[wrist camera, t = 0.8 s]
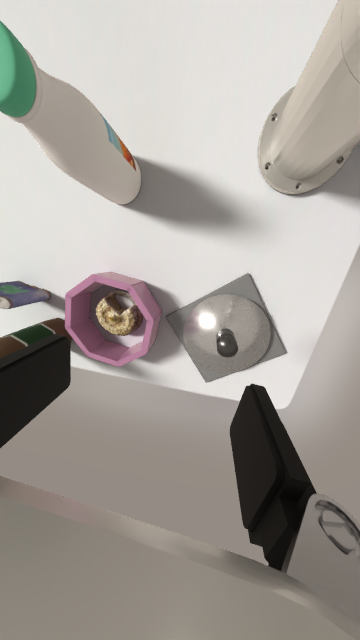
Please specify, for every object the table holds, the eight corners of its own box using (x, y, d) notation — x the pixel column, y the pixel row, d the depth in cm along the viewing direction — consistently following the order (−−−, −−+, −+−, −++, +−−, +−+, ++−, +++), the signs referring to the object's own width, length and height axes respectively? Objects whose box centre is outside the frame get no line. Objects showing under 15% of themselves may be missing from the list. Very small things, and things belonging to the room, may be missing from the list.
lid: (246, 277, 32) (254, 280, 26) (282, 352, 36) (296, 369, 30) (169, 318, 37) (162, 328, 31) (207, 380, 41) (206, 399, 35)
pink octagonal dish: (129, 258, 35) (114, 258, 29) (174, 331, 38) (168, 343, 33) (70, 299, 40) (48, 306, 34) (114, 360, 44) (101, 375, 38)
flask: (51, 291, 40) (-2, 301, 30) (50, 303, 41) (-1, 317, 31) (14, 278, 41) (-50, 285, 31) (15, 290, 42) (-47, 301, 32)
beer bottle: (75, 348, 44) (-62, 440, 22) (47, 342, 45) (-113, 425, 23) (73, 320, 42) (-85, 391, 19) (44, 314, 42) (-142, 375, 20)
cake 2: (142, 335, 41) (132, 348, 36) (102, 326, 42) (88, 336, 37) (145, 295, 37) (135, 303, 32) (101, 285, 38) (84, 291, 33)
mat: (247, 273, 32) (248, 273, 32) (284, 351, 36) (285, 353, 36) (166, 316, 38) (165, 317, 37) (206, 381, 41) (206, 382, 41)
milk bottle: (147, 198, 31) (54, 106, 12) (109, 210, 33) (-25, 145, 14) (135, 145, 29) (-1, -66, 10) (94, 161, 30) (-88, 4, 12)
